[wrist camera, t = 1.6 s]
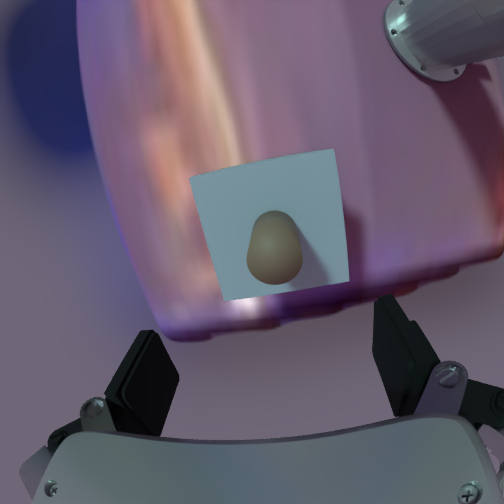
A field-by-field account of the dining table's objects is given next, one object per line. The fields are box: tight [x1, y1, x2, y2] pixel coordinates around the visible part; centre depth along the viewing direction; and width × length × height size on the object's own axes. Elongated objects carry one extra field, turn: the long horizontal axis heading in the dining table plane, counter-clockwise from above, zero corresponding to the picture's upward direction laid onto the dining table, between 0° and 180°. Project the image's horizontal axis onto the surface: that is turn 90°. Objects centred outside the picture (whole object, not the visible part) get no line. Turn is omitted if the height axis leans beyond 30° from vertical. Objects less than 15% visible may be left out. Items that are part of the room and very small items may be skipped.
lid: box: [189, 149, 349, 301], centre depth 21 cm, size 12×12×6 cm
